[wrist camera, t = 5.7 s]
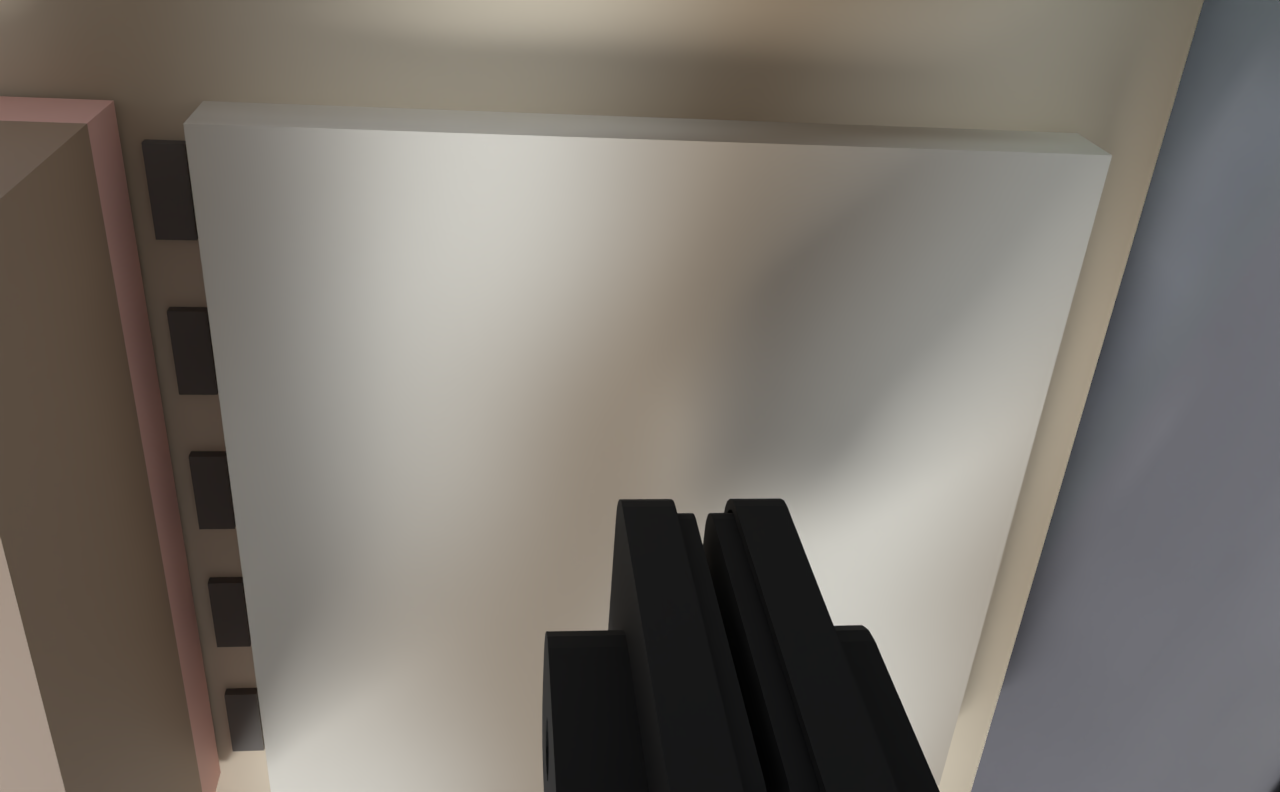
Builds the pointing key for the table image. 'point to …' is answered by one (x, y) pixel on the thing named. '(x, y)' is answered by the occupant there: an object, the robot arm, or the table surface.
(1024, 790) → the table surface
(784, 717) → the robot arm
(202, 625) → the ticket board
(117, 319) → the pink board with rim
